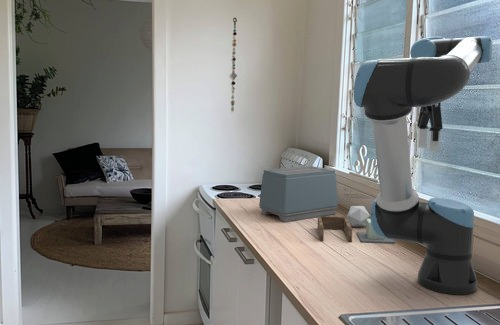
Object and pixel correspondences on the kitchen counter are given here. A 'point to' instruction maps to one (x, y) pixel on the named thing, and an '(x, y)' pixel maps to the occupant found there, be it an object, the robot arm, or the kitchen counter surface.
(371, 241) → the mat
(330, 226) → the brown u-shaped bracket
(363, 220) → the die
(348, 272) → the kitchen counter surface
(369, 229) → the block
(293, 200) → the toaster
